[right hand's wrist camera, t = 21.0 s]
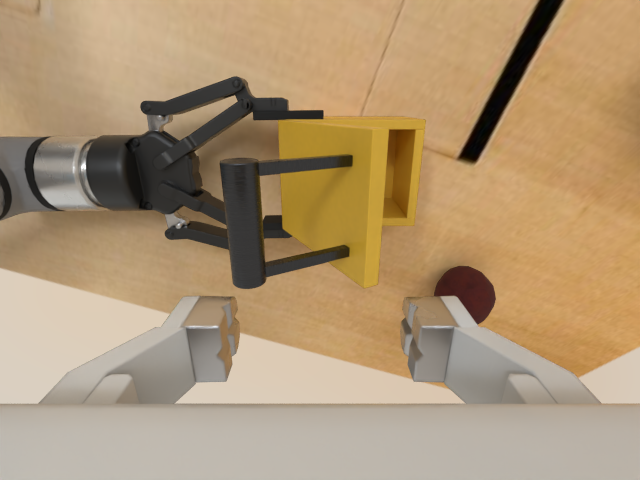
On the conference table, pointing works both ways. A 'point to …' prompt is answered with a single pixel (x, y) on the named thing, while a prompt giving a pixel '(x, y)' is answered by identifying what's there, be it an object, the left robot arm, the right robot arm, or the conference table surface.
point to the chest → (395, 163)
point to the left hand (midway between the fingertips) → (323, 171)
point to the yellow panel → (311, 201)
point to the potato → (468, 290)
